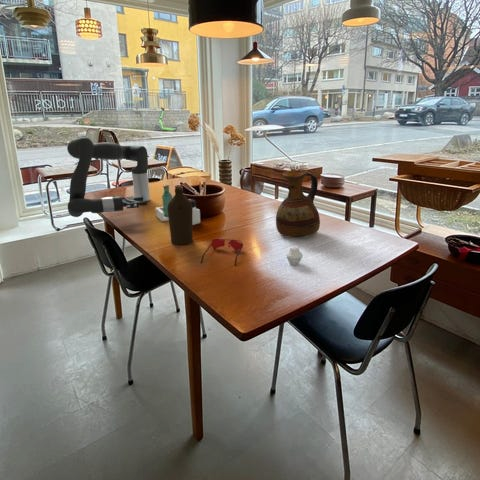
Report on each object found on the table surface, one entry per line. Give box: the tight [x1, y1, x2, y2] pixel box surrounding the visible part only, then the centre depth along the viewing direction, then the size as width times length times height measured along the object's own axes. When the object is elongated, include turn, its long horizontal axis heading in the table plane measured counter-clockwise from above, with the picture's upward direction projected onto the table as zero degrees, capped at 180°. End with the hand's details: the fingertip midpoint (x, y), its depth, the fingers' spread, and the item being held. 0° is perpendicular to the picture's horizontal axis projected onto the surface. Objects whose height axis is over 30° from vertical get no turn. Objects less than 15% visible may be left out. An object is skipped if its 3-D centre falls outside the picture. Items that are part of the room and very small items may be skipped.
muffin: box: [285, 246, 303, 266], centre depth 140 cm, size 6×6×7 cm
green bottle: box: [161, 184, 173, 217], centre depth 194 cm, size 5×5×16 cm
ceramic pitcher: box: [275, 169, 321, 239], centre depth 167 cm, size 20×20×30 cm
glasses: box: [200, 238, 244, 267], centre depth 147 cm, size 14×16×5 cm
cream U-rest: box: [155, 206, 169, 222], centre depth 197 cm, size 11×11×4 cm
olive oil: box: [167, 184, 194, 246], centre depth 159 cm, size 11×11×25 cm
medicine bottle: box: [187, 198, 201, 226], centre depth 186 cm, size 7×7×12 cm
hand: (144, 200), depth 189 cm, fingers open, 8 cm apart
